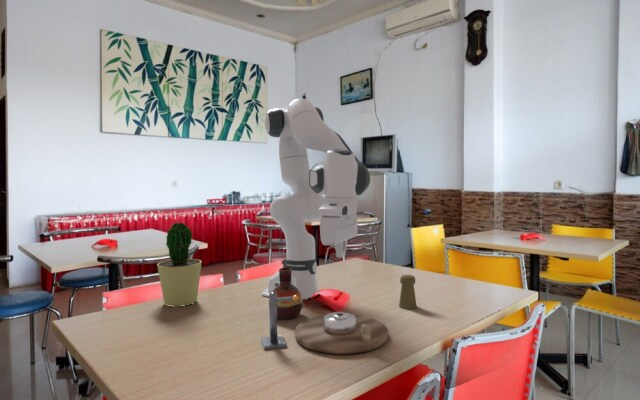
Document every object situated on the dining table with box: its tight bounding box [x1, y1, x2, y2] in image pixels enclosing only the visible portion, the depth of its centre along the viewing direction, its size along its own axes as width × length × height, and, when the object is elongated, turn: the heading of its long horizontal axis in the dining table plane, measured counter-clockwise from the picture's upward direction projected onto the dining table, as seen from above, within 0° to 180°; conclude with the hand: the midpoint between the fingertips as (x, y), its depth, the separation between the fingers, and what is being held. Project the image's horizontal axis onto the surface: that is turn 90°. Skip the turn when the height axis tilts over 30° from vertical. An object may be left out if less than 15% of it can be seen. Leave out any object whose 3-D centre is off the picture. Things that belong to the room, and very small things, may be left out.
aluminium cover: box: [323, 311, 356, 336], centre depth 114 cm, size 9×9×4 cm
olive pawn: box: [398, 274, 418, 310], centre depth 141 cm, size 6×6×11 cm
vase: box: [272, 267, 304, 320], centre depth 133 cm, size 11×11×15 cm
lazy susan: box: [294, 314, 389, 355], centre depth 115 cm, size 26×26×6 cm
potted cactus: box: [156, 222, 202, 306], centre depth 148 cm, size 15×15×30 cm
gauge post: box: [260, 292, 299, 351], centre depth 110 cm, size 10×6×14 cm, turn 105°
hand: (340, 256), depth 114 cm, fingers closed
